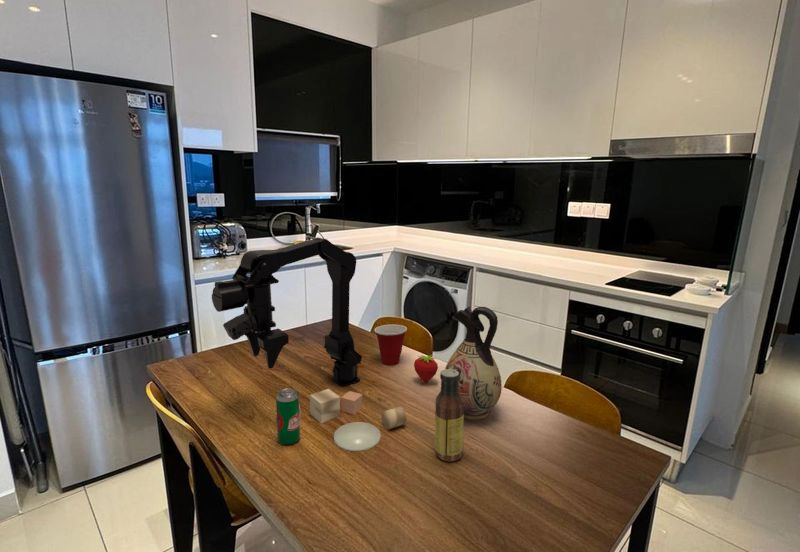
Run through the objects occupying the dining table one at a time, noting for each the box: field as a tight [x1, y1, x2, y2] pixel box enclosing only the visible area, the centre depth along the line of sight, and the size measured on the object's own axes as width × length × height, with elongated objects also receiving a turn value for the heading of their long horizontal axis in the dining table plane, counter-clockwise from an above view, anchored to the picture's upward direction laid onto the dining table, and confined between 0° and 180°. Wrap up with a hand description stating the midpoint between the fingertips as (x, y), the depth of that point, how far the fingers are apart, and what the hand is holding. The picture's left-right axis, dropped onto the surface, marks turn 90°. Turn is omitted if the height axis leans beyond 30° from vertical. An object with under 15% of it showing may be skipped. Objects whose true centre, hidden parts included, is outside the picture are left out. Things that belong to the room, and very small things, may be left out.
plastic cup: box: [374, 323, 408, 366], centre depth 141 cm, size 11×11×12 cm
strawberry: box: [413, 354, 439, 384], centre depth 128 cm, size 6×8×10 cm
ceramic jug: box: [444, 306, 503, 420], centre depth 110 cm, size 17×15×30 cm
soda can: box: [275, 387, 301, 446], centre depth 98 cm, size 5×5×12 cm
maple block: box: [309, 388, 341, 424], centre depth 109 cm, size 6×6×6 cm
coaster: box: [333, 421, 381, 452], centre depth 101 cm, size 11×11×1 cm
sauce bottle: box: [434, 368, 465, 463], centre depth 93 cm, size 6×6×20 cm
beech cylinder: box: [381, 406, 407, 430], centre depth 106 cm, size 4×4×4 cm
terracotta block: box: [340, 390, 363, 416], centre depth 113 cm, size 4×4×4 cm
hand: (263, 361), depth 108 cm, fingers open, 9 cm apart
